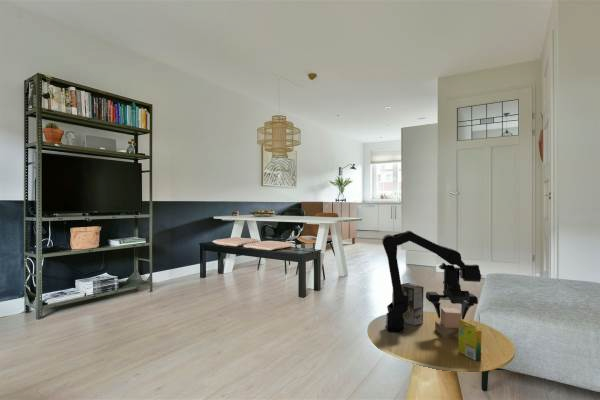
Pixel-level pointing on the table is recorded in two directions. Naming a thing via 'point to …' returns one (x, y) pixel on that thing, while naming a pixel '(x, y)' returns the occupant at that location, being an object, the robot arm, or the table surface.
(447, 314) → the pink cube
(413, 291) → the coffee box
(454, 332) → the walnut block
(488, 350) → the table surface
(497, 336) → the table surface
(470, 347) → the crayon box
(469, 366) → the table surface
